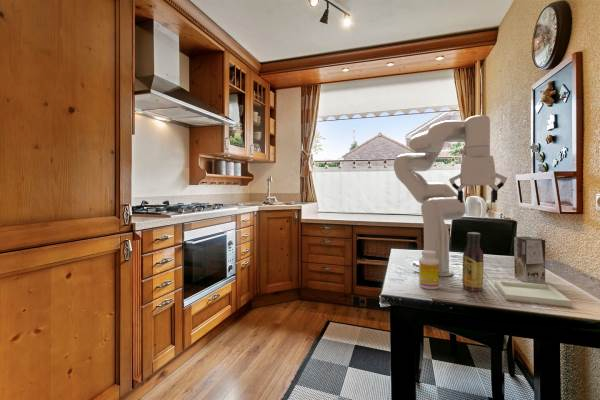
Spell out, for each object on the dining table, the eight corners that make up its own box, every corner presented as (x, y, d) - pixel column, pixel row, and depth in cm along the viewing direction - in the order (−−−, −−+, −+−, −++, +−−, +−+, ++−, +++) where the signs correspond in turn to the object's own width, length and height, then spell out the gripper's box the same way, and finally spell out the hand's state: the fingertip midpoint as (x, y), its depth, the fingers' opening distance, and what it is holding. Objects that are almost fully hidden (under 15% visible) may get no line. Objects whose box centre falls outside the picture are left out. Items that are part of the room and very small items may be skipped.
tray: (505, 300, 94) (505, 294, 94) (495, 285, 108) (495, 280, 108) (570, 306, 88) (570, 300, 87) (550, 290, 102) (550, 284, 102)
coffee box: (546, 284, 108) (546, 240, 108) (526, 283, 110) (526, 239, 109) (532, 277, 117) (532, 236, 117) (513, 276, 119) (513, 236, 118)
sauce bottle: (459, 286, 108) (458, 231, 107) (476, 286, 107) (476, 231, 107) (468, 292, 101) (468, 234, 101) (487, 292, 101) (487, 233, 100)
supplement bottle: (441, 290, 104) (441, 253, 104) (421, 289, 105) (421, 253, 105) (436, 284, 111) (436, 249, 110) (417, 283, 112) (417, 249, 111)
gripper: (450, 153, 103) (450, 203, 103) (510, 149, 96) (509, 203, 97) (448, 155, 110) (448, 202, 110) (504, 152, 103) (503, 202, 104)
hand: (477, 202), depth 104 cm, fingers open, 9 cm apart
